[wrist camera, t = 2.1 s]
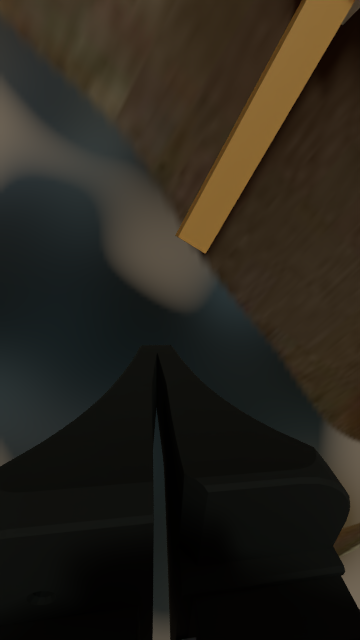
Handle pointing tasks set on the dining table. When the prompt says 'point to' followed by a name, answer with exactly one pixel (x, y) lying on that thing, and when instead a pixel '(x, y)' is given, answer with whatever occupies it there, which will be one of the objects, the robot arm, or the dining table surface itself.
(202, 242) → the wooden stick
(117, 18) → the dining table surface
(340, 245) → the dining table surface
